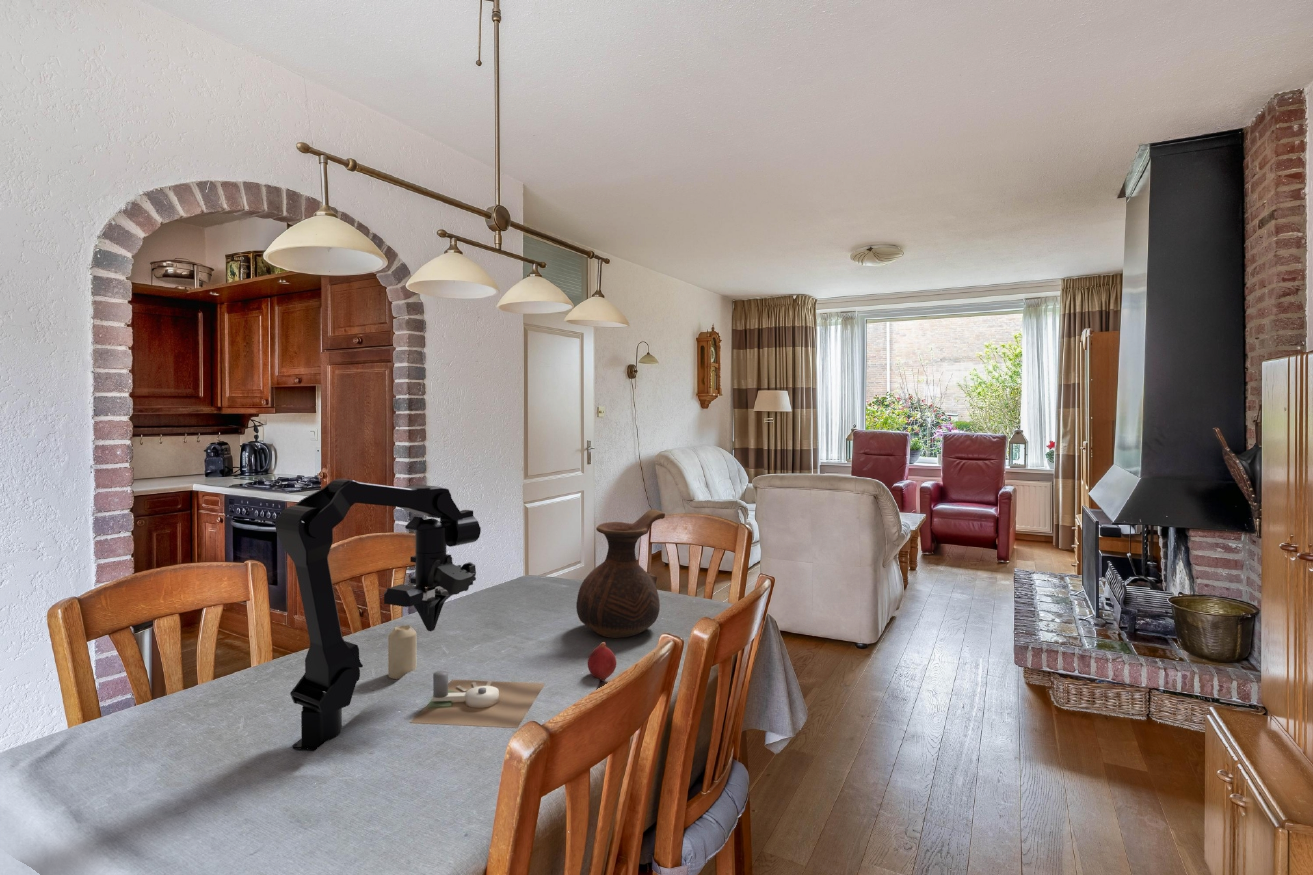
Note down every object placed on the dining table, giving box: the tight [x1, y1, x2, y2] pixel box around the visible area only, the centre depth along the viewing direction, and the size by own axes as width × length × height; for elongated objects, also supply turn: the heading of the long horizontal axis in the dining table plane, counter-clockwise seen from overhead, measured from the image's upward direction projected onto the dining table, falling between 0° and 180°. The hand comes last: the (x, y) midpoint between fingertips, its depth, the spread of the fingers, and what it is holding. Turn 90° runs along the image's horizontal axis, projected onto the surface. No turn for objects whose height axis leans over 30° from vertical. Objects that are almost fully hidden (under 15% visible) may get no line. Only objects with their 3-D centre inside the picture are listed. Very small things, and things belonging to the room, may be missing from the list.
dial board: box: [409, 679, 546, 729], centre depth 124 cm, size 19×19×2 cm
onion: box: [587, 641, 617, 682], centre depth 137 cm, size 6×6×8 cm
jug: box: [576, 509, 666, 639], centre depth 169 cm, size 22×22×30 cm
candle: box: [387, 624, 417, 680], centre depth 139 cm, size 6×6×10 cm
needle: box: [431, 670, 499, 708], centre depth 123 cm, size 12×6×5 cm, turn 96°
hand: (430, 630), depth 129 cm, fingers closed
